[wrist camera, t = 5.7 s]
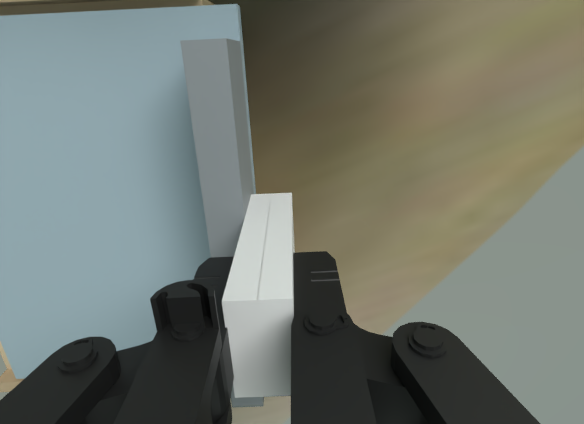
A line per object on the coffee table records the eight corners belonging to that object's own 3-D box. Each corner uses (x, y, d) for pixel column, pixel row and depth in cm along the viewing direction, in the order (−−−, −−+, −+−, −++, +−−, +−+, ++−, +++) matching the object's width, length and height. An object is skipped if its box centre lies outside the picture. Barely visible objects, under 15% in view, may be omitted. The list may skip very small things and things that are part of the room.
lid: (-110, 24, 13) (-254, 13, 10) (239, 6, 13) (221, -11, 10) (26, 366, 19) (-33, 437, 16) (269, 356, 19) (265, 426, 15)
